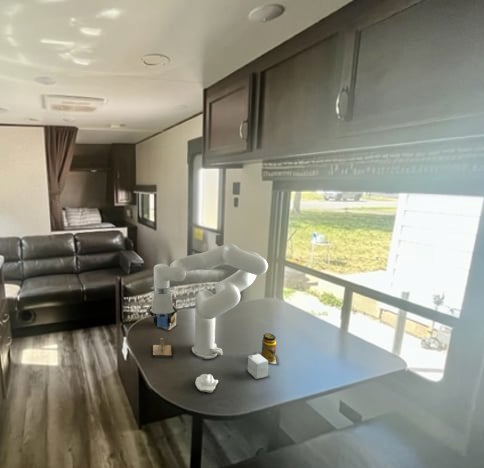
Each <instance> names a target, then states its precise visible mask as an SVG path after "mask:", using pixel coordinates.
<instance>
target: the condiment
mask: <svg viewBox="0 0 484 468" xmlns="http://www.w3.org/2000/svg"><path fill="white" fill-rule="evenodd" d="M261 340H262V341H261V352H255V355H256V354H260V355H261V356H263V357H264V358H265V359H266V360H267V361H268V364H273V365H277V359H276V353H277V352H276V351H277V341H276V340H277V338H276V335H274V334H273V333H268V332H267V333H264V334H263V337H262V339H261Z"/></svg>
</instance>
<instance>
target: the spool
mask: <svg viewBox="0 0 484 468" xmlns="http://www.w3.org/2000/svg"><path fill="white" fill-rule="evenodd" d="M156 317H157V326H156V327H157V328H161V329H164V328H165V327H167V326H168V314H157V315H156Z"/></svg>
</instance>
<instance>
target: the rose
mask: <svg viewBox="0 0 484 468" xmlns="http://www.w3.org/2000/svg"><path fill="white" fill-rule="evenodd" d="M194 381H195V382H194V383H195V384H194V385H195V386H196V389H198V390H199V391H200V392H206V393H213V392H214V390H215V389H216V386H217V385H218V383H219V380H218V379H214V376H213V375H212V374H211V373H209V374H207V373H203V374H201V375H200V376H197V377H196V379H195V380H194Z"/></svg>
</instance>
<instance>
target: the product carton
mask: <svg viewBox="0 0 484 468" xmlns="http://www.w3.org/2000/svg"><path fill="white" fill-rule="evenodd" d="M247 372H248V373H249V374H250V375H252V377H253V378H254V379H256V380H258V379H263V378H266V377H268V376H269V363H268V361H267V360H266V359H265V358H264V357H263V356H261V355H260V354H256V353H255V354H252V355H248V356H247Z"/></svg>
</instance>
